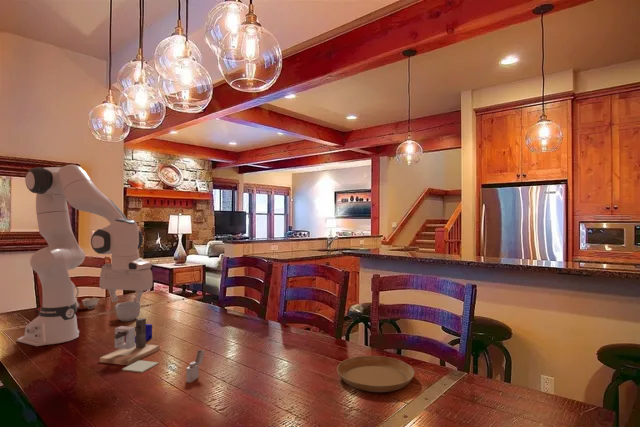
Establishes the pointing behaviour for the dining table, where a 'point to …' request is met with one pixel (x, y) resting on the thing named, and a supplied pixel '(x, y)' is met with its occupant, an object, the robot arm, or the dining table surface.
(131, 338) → the pinkish grey hollow block
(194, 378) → the lighter
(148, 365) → the felt pad
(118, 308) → the teacup
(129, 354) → the hook rack
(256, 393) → the dining table surface
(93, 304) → the chinaware
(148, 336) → the blue notched block
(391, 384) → the plant saucer
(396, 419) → the dining table surface
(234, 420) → the dining table surface
